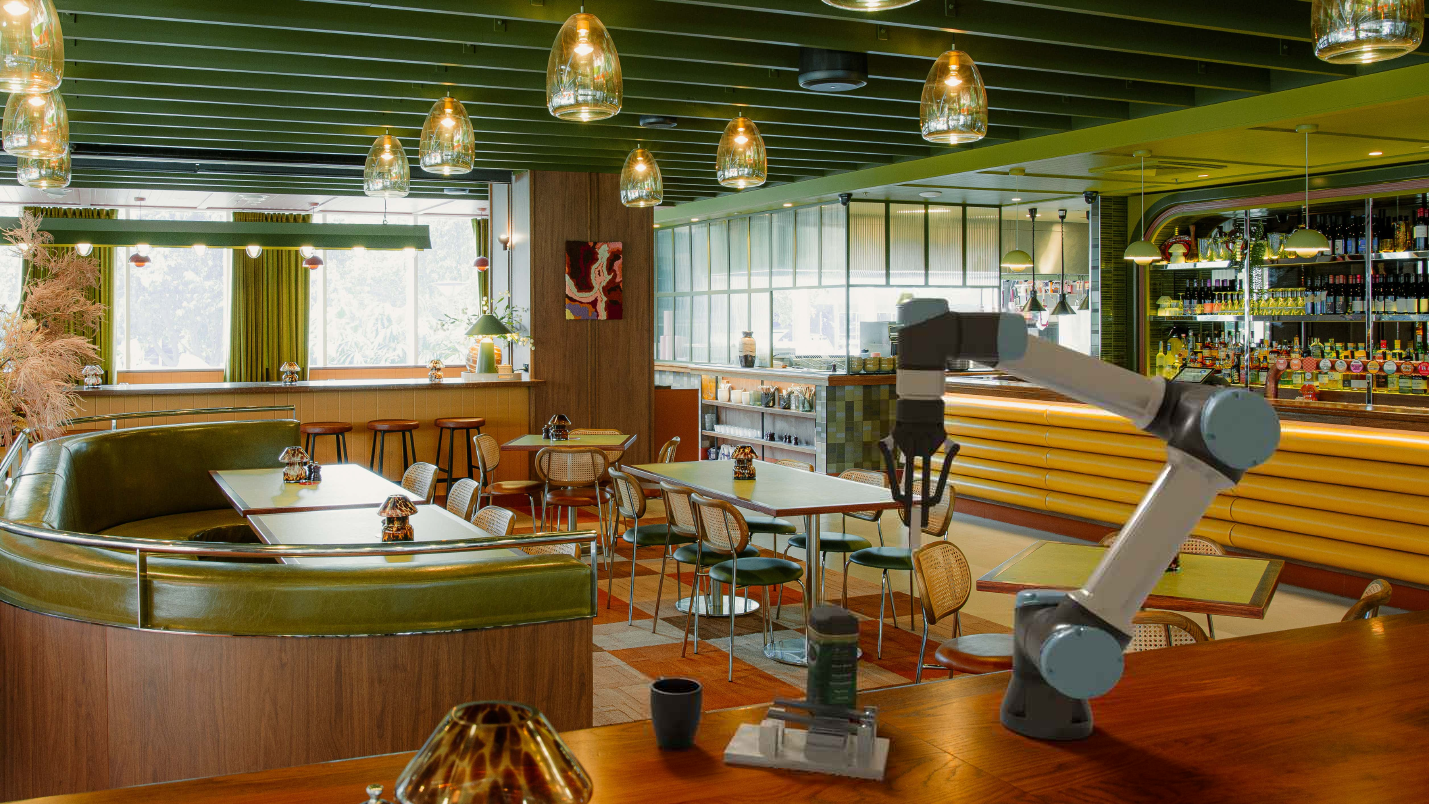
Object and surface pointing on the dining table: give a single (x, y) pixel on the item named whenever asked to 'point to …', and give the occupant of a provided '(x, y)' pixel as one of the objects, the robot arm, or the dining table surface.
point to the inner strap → (820, 708)
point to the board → (796, 752)
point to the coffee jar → (832, 658)
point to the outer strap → (815, 721)
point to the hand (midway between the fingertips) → (915, 547)
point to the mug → (675, 711)
